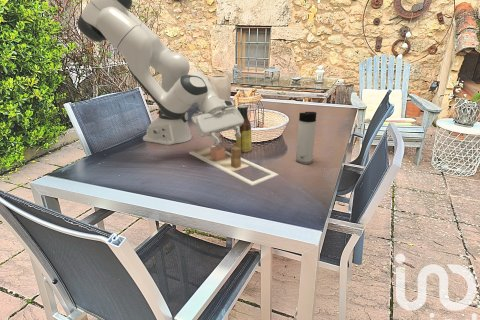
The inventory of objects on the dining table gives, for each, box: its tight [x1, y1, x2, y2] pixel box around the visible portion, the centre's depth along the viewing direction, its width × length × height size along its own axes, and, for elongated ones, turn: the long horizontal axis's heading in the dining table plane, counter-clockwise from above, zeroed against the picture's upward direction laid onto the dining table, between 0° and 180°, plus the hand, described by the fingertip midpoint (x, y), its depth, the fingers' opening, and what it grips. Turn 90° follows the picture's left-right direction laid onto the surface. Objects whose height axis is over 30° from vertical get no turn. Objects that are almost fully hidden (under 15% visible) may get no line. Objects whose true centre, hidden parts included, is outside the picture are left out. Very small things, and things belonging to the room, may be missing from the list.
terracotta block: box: [209, 145, 226, 160], centre depth 126 cm, size 4×4×4 cm
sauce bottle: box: [235, 104, 253, 154], centre depth 131 cm, size 7×6×20 cm
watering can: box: [207, 74, 232, 101], centre depth 212 cm, size 16×27×19 cm, turn 156°
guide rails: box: [188, 145, 280, 187], centre depth 121 cm, size 38×12×2 cm, turn 40°
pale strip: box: [193, 146, 250, 172], centre depth 124 cm, size 26×8×8 cm, turn 40°
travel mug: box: [295, 111, 318, 165], centre depth 123 cm, size 6×7×20 cm
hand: (229, 140), depth 120 cm, fingers open, 8 cm apart
